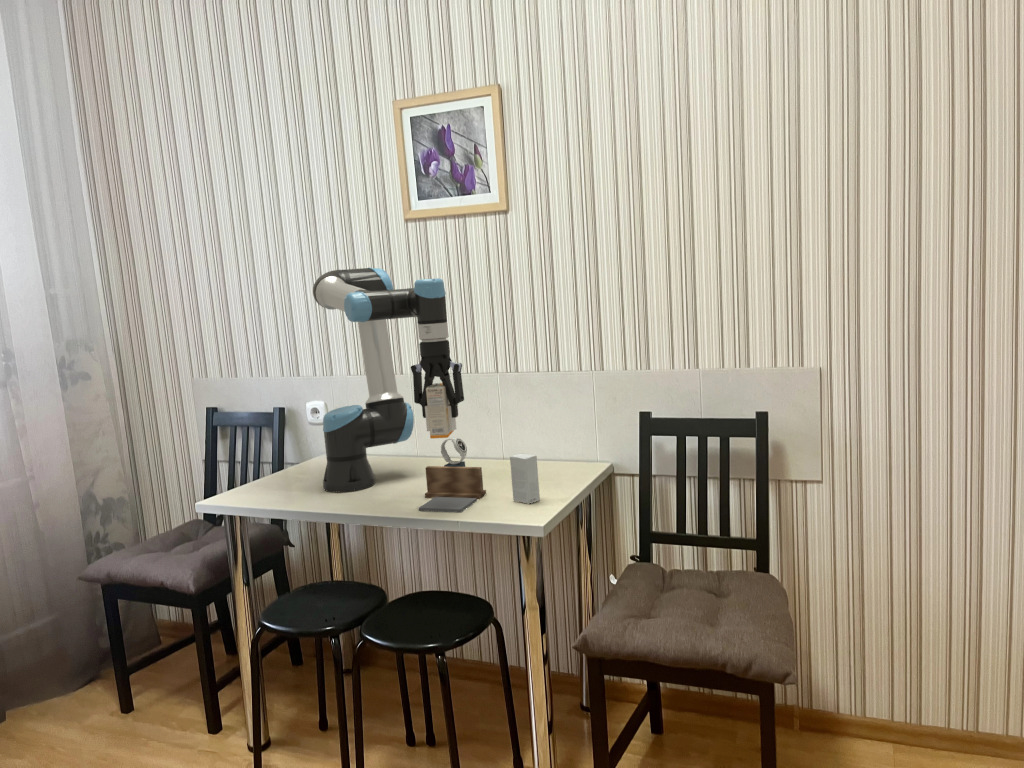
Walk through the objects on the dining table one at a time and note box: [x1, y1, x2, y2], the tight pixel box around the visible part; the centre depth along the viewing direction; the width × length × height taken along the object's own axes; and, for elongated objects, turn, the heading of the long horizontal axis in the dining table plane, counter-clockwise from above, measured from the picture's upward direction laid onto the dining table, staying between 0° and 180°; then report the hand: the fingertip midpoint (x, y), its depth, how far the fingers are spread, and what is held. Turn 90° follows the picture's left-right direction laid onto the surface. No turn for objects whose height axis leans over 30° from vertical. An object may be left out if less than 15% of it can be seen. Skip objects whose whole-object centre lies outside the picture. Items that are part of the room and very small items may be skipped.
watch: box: [440, 436, 468, 467], centre depth 234 cm, size 6×8×11 cm
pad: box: [418, 497, 478, 513], centre depth 199 cm, size 12×10×1 cm
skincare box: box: [509, 453, 541, 505], centre depth 198 cm, size 6×4×12 cm
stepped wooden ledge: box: [424, 465, 487, 500], centre depth 208 cm, size 16×5×8 cm, turn 70°
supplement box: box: [426, 382, 455, 439], centre depth 196 cm, size 8×5×13 cm, turn 173°
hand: (441, 430), depth 197 cm, fingers closed on supplement box, 6 cm apart
